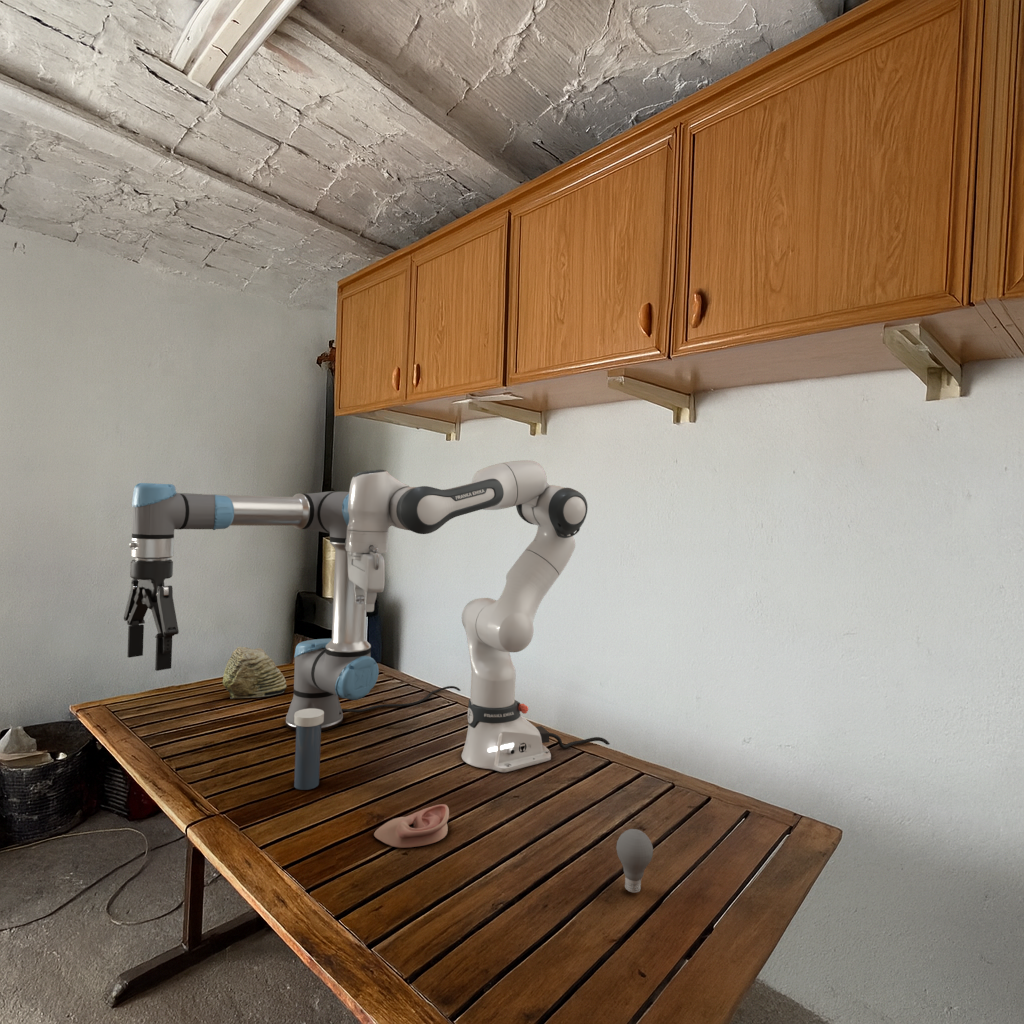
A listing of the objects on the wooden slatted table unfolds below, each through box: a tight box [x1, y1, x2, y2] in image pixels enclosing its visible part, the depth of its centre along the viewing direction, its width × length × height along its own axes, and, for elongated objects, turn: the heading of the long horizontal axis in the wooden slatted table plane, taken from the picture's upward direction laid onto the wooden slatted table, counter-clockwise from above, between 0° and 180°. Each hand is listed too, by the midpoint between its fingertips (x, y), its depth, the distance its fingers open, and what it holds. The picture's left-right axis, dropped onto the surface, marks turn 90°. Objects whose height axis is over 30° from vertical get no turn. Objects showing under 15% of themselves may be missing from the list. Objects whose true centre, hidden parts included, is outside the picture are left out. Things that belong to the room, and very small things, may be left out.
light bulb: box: [615, 828, 654, 894], centre depth 106 cm, size 6×6×10 cm
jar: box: [293, 724, 322, 791], centre depth 139 cm, size 5×5×15 cm
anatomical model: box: [373, 803, 450, 849], centre depth 121 cm, size 13×4×12 cm
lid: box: [294, 708, 324, 727], centre depth 139 cm, size 6×6×2 cm
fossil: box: [222, 646, 288, 699], centre depth 198 cm, size 9×18×15 cm, turn 132°
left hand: (148, 662), depth 129 cm, fingers open, 13 cm apart
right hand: (364, 607), depth 138 cm, fingers open, 8 cm apart
